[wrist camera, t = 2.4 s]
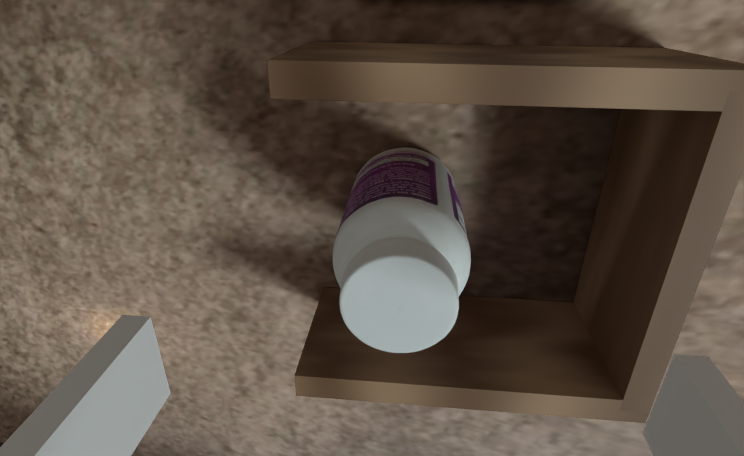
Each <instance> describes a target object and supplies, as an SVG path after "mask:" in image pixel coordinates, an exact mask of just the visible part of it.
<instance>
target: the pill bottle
mask: <svg viewBox="0 0 744 456" xmlns="http://www.w3.org/2000/svg"><path fill="white" fill-rule="evenodd" d="M470 266H471V252H470V246H469V242H468V238H467V233H466V228H465V224H464V219H463V214H462V209H461V205H460V201H459V196H458V193H457V189H456V185H455V182H454V179H453V177H452V175H451V173H450V172H449V170H448V169H447V167H446V166H445V165H444V164H443V163H442V162H441V161H440V160H439V159H438V158H436V157H435V156H433V155H432V154H430V153H428V152H425V151H422V150H419V149H415V148H408V147H403V148H395V149H390V150H387V151H384V152H381V153H379V154H377V155H376V156H374V157H373V158H371V159H370V160H369V161H368V162H367V163H366V164H365V165H364V166H363V167H362V169H361V170H360V172H359V173H358V175H357V177H356V179H355V182H354V184H353V187H352V190H351V193H350V196H349V199H348V202H347V205H346V208H345V212H344V215H343V218H342V220H341V224H340V227H339V230H338V232H337V235H336V238H335V242H334V247H333V269H334V273H335V277H336V280H337V282H338V284H339V286H340V288H341V290H340V297H339V305H340V312H341V315H342V318H343V320H344V322H345V324H346V326H347V327H348V328H349V330H350V331H351V332H352V333H353V334H354V335H355V336H356V337H357V338H358V339H359V340H361V341H362V342H363V343H365V344H367V345H369V346H371V347H373V348H376V349H379V350H382V351H386V352H392V353H410V352H416V351H420V350H423V349H426V348H428V347H431V346H433V345H435V344H436V343H437V342H439V341H440V340H442V339H443V338H444V337H445V336H446V335H447V334H448V333H449V332H450V330H451V329H452V327H453V326H454V324H455V322H456V319H457V315H458V310H459V295H460V294H461V292H462V291H463V289H464V287H465V285H466V283H467V280H468V277H469V273H470Z"/></svg>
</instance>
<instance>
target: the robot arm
mask: <svg viewBox="0 0 744 456" xmlns="http://www.w3.org/2000/svg"><path fill="white" fill-rule="evenodd" d="M169 395H170V389H169V385H168V381H167V378H166V374H165V370H164V366H163V362H162V359H161V355H160V351H159V347H158V343H157V340H156V336H155V332H154V328H153V325H152V321H151V317H144V316H130V315H122V316H121V318H120V319H119V320H118V321H117V322H116V323H115V324H114V325H113V326H112V327H111V328H110V329H109V330H108V332H107V333H106V334H105V335H104V336H103V337H102V338H101V339H100V340H99V341H98V342H97V343H96V345H95V346H94V347H93V348H92V349H91V350H90V351H89V352H88V353H87V354H86V355H85V356H84V357H83V359H82V360H81V361H80V362H79V363H78V364H77V365H76V366H75V367H74V368H73V369H72V370H71V371H70V373H69V374H68V375H67V376H66V377H65V378H64V379H63V380H62V381H61V382H60V383H59V384H58V386H57V387H56V388H55V389H54V390H53V391H52V392H51V393H50V394H49V395H48V396H47V397H46V398H45V400H44V401H43V402H42V403H41V404H40V405H39V406H38V407H37V408H36V409H35V410H34V411H33V412H32V414H31V415H30V416H29V417H28V418H27V419H26V420H25V421H24V422H23V423H22V424H21V425H20V427H19V428H18V429H17V430H16V431H15V432H14V433H13V434H12V435H11V436H10V437H9V438H8V439H7V441H6V442H5V443H0V456H131V455H132V454H133V452H134V450H135V449H136V447H137V446H138V444H139V443H140V441H141V439H142V438H143V436H144V435H145V433H146V431H147V430H148V428H149V427H150V425H151V423H152V422H153V420H154V419H155V417H156V415H157V414H158V412H159V411H160V409H161V408H162V406H163V404H164V403H165V401H166V400H167V398H168V396H169ZM643 435H644V437H645V439H646V441H647V443H648V445H649V447H650V449H651V451H652V453H653V455H654V456H744V402H743V401H742V399H741V398H740V397H739V395H738V394H737V393H736V392H735V390H734V389H733V388H732V386H731V385H730V384H729V383H728V381H727V380H726V379H725V377H724V376H723V375H722V374H721V372H720V371H719V370H718V368H717V367H716V366H715V365H714V363H713V362H712V361H711V359H710V358H709V357H704V356H690V355H676V354H675V355H674V357H673V360H672V362H671V365H670V367H669V370H668V372H667V375H666V377H665V380H664V382H663V385H662V387H661V390H660V392H659V394H658V397H657V399H656V402H655V404H654V407H653V409H652V412H651V414H650V417H649V419H648V422H647V424H646V427H645V429H644V432H643Z"/></svg>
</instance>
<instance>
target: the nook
mask: <svg viewBox="0 0 744 456" xmlns="http://www.w3.org/2000/svg"><path fill="white" fill-rule="evenodd" d="M267 65H268V76H269V88H270V99H290V100H326V101H362V102H398V103H434V104H470V105H506V106H542V107H578V108H614V109H621V111H620V115H619V119H618V123H617V127H616V132H615V136H614V140H613V144H612V148H611V152H610V156H609V160H608V164H607V168H606V172H605V176H604V180H603V184H602V188H601V192H600V196H599V200H598V205H597V209H596V213H595V217H594V221H593V225H592V229H591V233H590V237H589V241H588V245H587V249H586V253H585V257H584V261H583V265H582V269H581V273H580V277H579V282H578V286H577V290H576V294H575V298H574V302H560V301H543V300H526V299H510V298H493V297H476V296H459V310H458V315H457V319H456V322H455V324H454V326H453V327H452V329H451V330H450V332H449V333H448V334H447V335H446V336H445V337H444V338H443V339H442V340H440V341H439V342H437V343H436V344H435V345H433V346H431V347H428V348H426V349H423V350H420V351H416V352H410V353H392V352H386V351H382V350H379V349H376V348H373V347H371V346H369V345H367V344H365V343H363V342H362V341H361V340H359V339H358V338H357V337H356V336H355V335H354V334H353V333H352V332H351V331H350V330H349V328H348V327H347V326H346V324H345V322H344V320H343V318H342V315H341V312H340V305H339V297H340V290H341V288H325V287H324V288H323V291H322V294H321V297H320V300H319V303H318V306H317V309H316V312H315V315H314V318H313V321H312V324H311V327H310V330H309V333H308V336H307V339H306V342H305V345H304V348H303V351H302V354H301V357H300V361H299V364H298V367H297V370H296V373H295V387H296V396H308V397H321V398H333V399H346V400H359V401H372V402H385V403H397V404H410V405H423V406H436V407H448V408H461V409H474V410H487V411H500V412H512V413H525V414H538V415H551V416H564V417H576V418H589V419H602V420H615V421H627V422H640V423H645V422H646V419H647V417H648V414H649V412H650V409H651V406H652V404H653V401H654V399H655V396H656V393H657V391H658V388H659V386H660V383H661V380H662V378H663V375H664V373H665V370H666V367H667V365H668V362H669V360H670V357H671V354H672V352H673V349H674V347H675V344H676V341H677V339H678V336H679V334H680V331H681V328H682V326H683V323H684V321H685V318H686V315H687V313H688V310H689V308H690V305H691V302H692V300H693V297H694V295H695V292H696V289H697V287H698V284H699V282H700V279H701V276H702V274H703V271H704V269H705V266H706V263H707V261H708V258H709V256H710V253H711V250H712V248H713V245H714V243H715V240H716V237H717V235H718V232H719V230H720V227H721V224H722V222H723V219H724V217H725V214H726V211H727V209H728V206H729V204H730V201H731V198H732V196H733V193H734V191H735V188H736V186H737V183H738V180H739V178H740V175H741V173H742V170H743V167H744V64H743V63H738V62H733V61H728V60H723V59H718V58H713V57H708V56H703V55H698V54H693V53H688V52H683V51H678V50H673V49H668V48H641V47H585V46H529V45H473V44H417V43H361V42H311V43H308V44H306V45H303V46H301V47H298V48H296V49H293V50H291V51H288V52H286V53H283V54H281V55H278V56H276V57H274V58H271V59H269V60H267Z"/></svg>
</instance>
